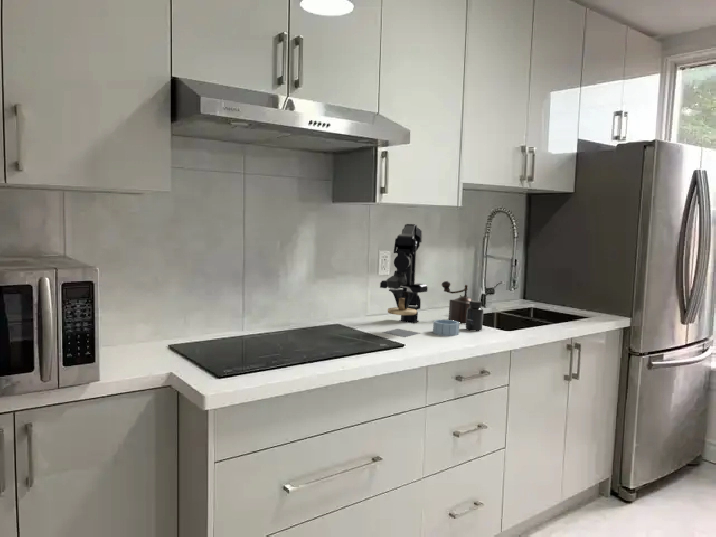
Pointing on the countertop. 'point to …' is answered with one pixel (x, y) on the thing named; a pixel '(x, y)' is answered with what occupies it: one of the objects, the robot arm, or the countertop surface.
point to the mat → (401, 332)
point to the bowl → (446, 327)
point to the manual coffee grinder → (457, 304)
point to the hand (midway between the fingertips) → (402, 308)
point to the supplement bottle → (474, 316)
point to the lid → (402, 309)
